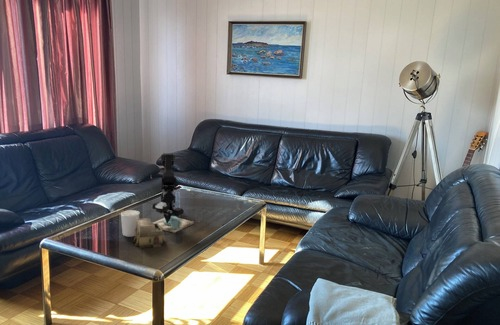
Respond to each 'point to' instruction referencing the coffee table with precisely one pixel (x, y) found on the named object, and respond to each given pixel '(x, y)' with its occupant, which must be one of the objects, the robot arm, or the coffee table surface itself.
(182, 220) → the post board
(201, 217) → the coffee table surface
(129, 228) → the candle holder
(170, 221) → the flange
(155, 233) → the miniature house
